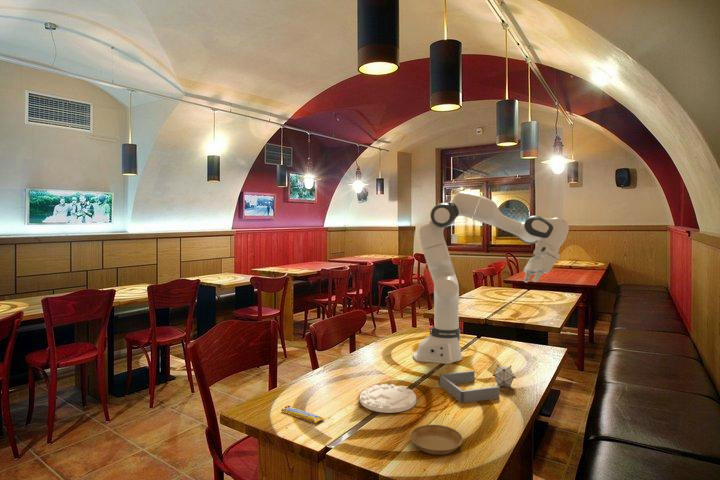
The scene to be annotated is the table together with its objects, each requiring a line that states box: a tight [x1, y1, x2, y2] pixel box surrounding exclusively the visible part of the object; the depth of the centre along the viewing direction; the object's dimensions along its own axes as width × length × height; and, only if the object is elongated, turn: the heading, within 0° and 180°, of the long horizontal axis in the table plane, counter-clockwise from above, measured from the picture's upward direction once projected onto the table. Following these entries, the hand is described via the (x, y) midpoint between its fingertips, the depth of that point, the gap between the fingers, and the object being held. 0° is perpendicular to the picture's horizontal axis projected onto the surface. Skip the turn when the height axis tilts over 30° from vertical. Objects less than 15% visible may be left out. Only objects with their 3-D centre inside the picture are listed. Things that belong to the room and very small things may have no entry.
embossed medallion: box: [359, 383, 417, 414], centre depth 154 cm, size 20×20×3 cm
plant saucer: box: [409, 424, 464, 456], centre depth 124 cm, size 15×15×3 cm
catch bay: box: [438, 370, 500, 404], centre depth 163 cm, size 15×18×4 cm
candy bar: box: [281, 405, 326, 424], centre depth 143 cm, size 17×4×2 cm, turn 54°
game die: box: [492, 364, 517, 389], centre depth 167 cm, size 9×8×10 cm
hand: (529, 281), depth 185 cm, fingers open, 8 cm apart
